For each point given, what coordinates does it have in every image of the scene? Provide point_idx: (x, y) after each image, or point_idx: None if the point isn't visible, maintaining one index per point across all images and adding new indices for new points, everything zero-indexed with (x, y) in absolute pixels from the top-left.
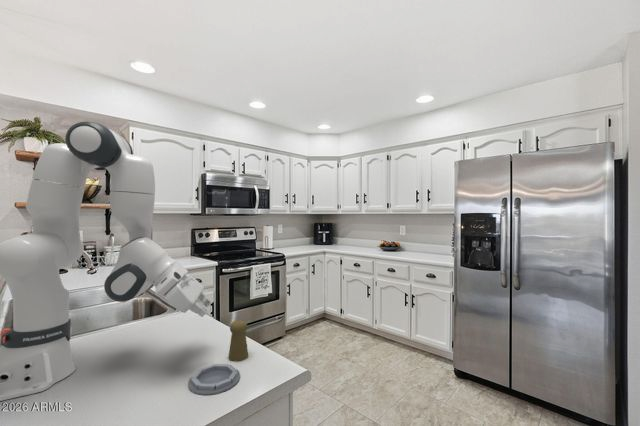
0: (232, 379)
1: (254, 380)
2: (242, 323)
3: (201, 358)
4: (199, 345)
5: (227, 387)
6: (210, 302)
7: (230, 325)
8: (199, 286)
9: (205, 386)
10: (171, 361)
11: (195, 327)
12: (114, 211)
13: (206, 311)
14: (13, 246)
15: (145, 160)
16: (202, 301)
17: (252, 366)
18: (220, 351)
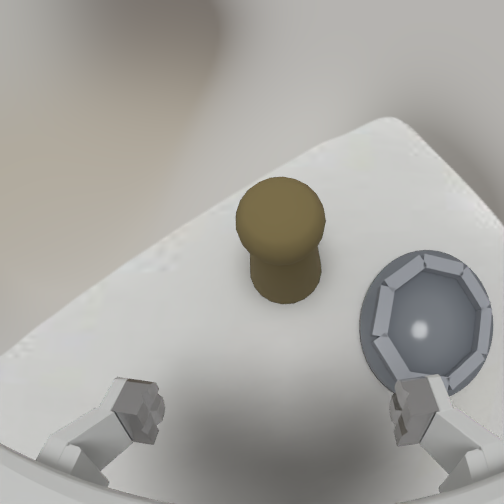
0: (462, 264)
1: (433, 214)
2: (302, 188)
3: (270, 402)
4: None
5: (475, 277)
6: (138, 381)
7: (282, 256)
8: (7, 498)
9: (489, 333)
10: (270, 495)
11: (20, 423)
12: None
13: (401, 379)
14: None
15: None
16: (119, 448)
17: (360, 220)
18: (225, 338)
